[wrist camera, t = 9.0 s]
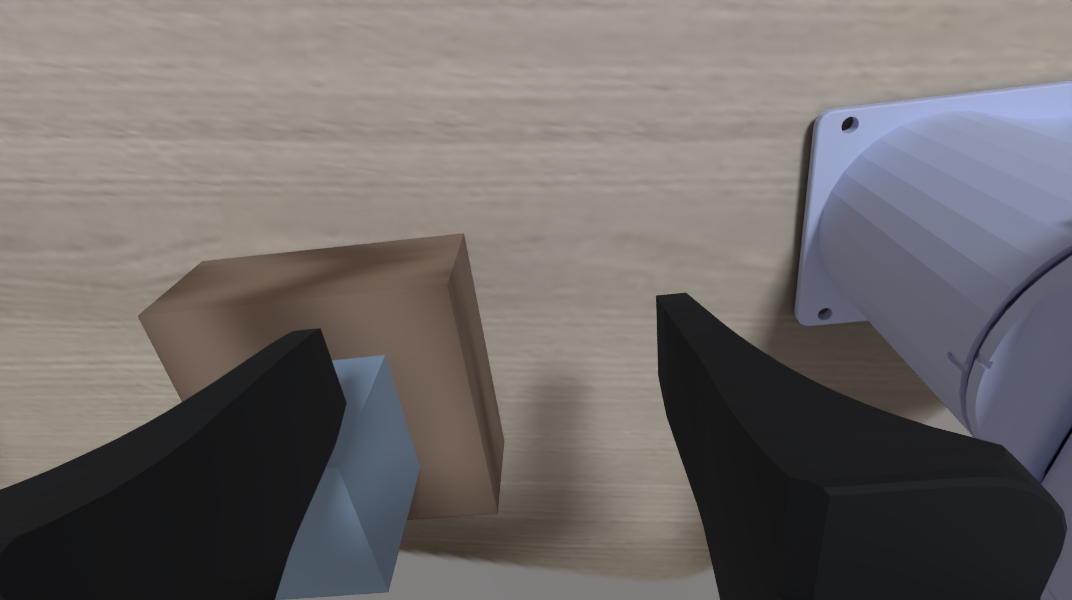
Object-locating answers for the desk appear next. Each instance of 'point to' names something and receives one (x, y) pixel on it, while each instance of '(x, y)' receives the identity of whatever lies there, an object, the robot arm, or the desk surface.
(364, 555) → the blue cube
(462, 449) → the walnut block
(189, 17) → the desk surface
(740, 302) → the desk surface
